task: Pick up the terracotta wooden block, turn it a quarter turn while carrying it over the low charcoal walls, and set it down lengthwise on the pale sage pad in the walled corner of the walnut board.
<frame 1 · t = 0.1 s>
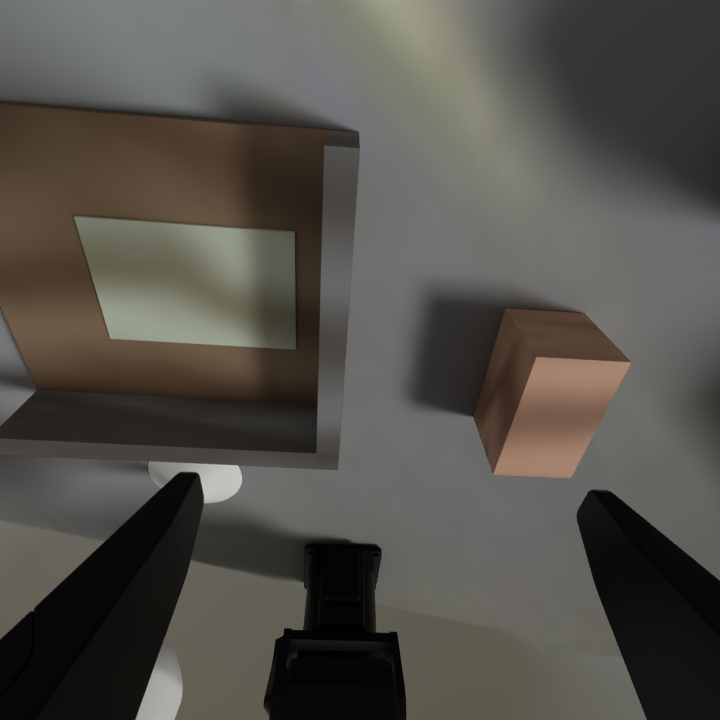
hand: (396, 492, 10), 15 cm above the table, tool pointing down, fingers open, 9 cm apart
champagne flute: (196, 472, 31), on the table
arena: (179, 287, 22), on the table
block: (523, 368, 26), on the table
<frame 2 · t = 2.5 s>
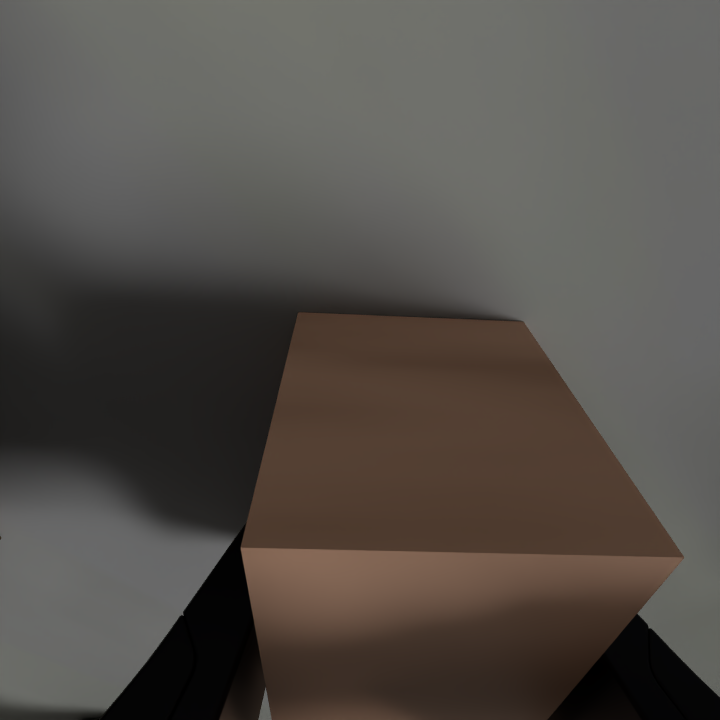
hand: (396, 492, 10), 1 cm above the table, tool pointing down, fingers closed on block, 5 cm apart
block: (392, 457, 11), on the table, touching gripper
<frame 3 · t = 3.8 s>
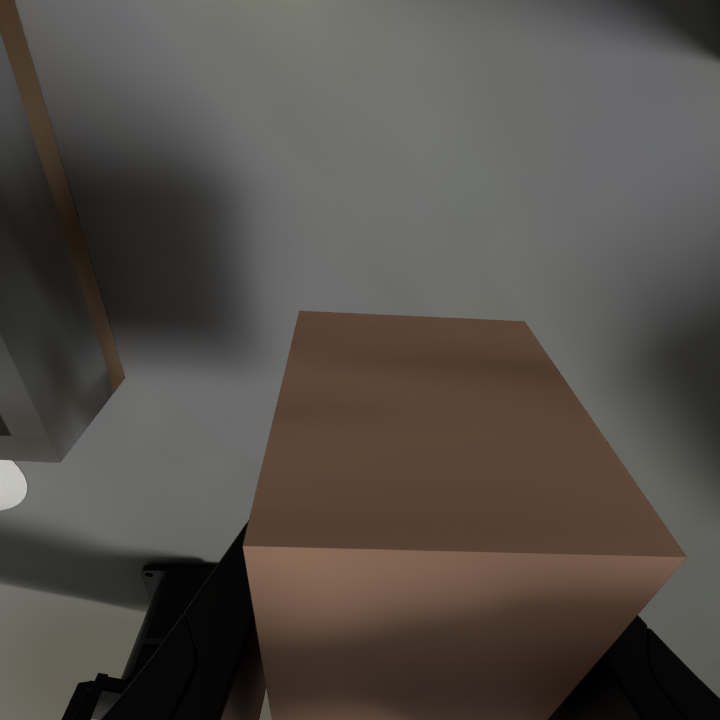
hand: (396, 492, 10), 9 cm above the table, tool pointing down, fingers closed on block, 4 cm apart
block: (392, 457, 11), point 8 cm above the table, touching gripper
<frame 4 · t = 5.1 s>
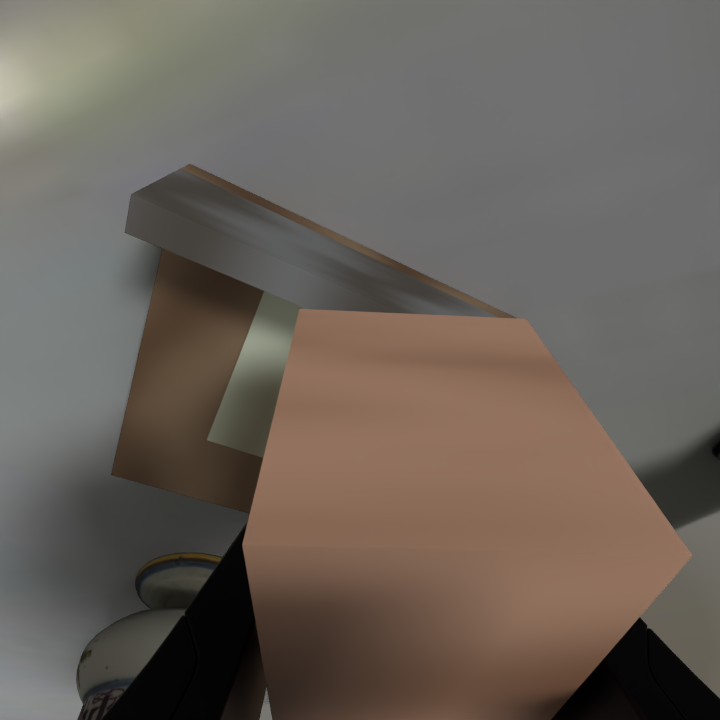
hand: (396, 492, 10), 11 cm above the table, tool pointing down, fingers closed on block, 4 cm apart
apothecary jar: (203, 585, 33), on the table
arena: (300, 400, 22), on the table
block: (393, 456, 11), point 10 cm above the table, touching gripper
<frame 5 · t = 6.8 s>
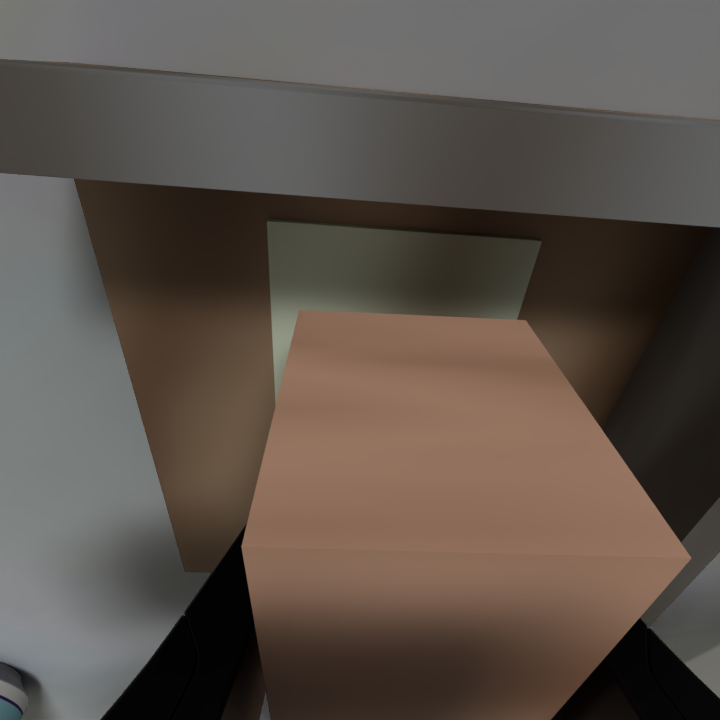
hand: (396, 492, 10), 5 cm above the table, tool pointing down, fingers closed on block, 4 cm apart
arena: (392, 405, 14), on the table
block: (393, 457, 11), point 4 cm above the table, touching gripper
when the fingers open (3 cm above the table, at t = 7.8 s): block drops 1 cm, resting on arena.
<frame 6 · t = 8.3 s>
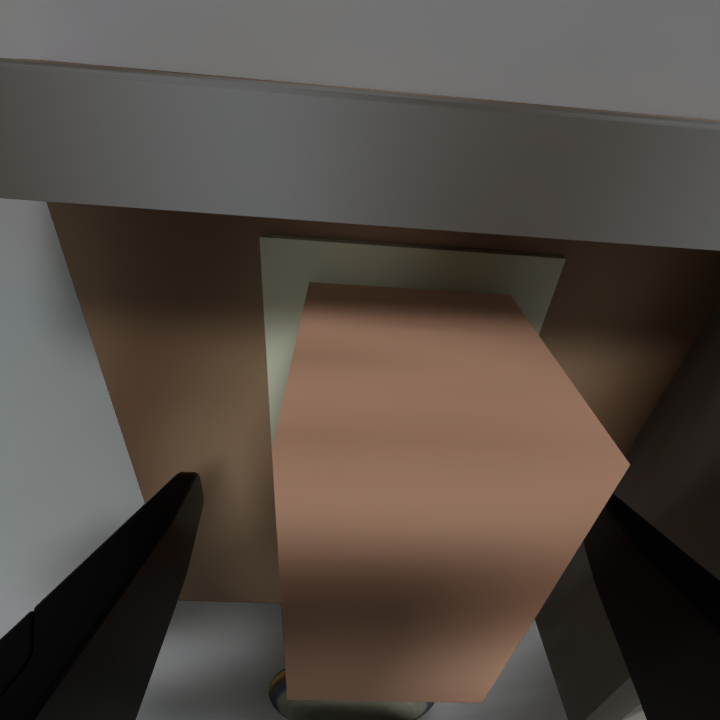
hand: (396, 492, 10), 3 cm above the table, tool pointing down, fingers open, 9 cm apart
apothecary jar: (353, 685, 25), on the table
arena: (397, 430, 13), on the table
block: (390, 422, 12), point 1 cm above the table, touching arena
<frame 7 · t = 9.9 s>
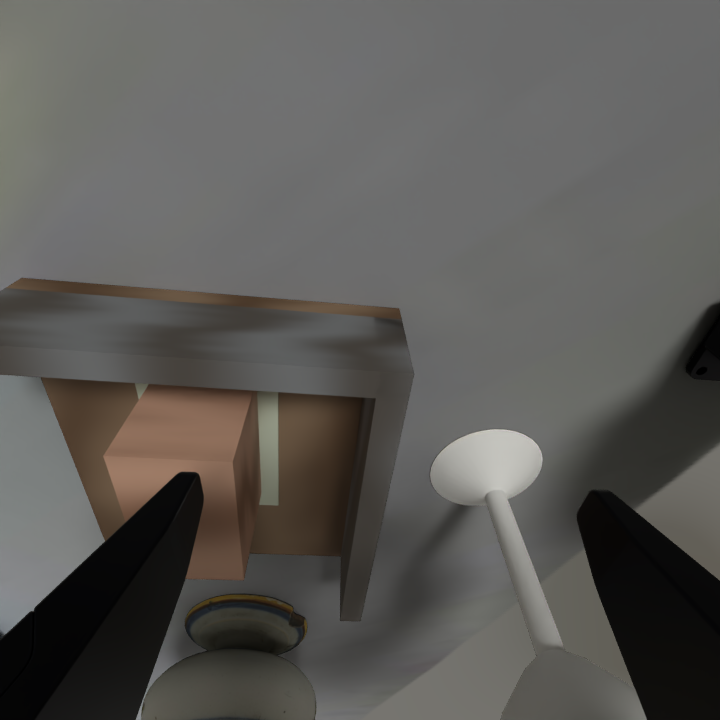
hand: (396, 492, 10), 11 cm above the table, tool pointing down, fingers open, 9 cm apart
apothecary jar: (248, 621, 35), on the table
champagne flute: (484, 467, 25), on the table
arena: (230, 442, 23), on the table
block: (214, 439, 21), point 1 cm above the table, touching arena
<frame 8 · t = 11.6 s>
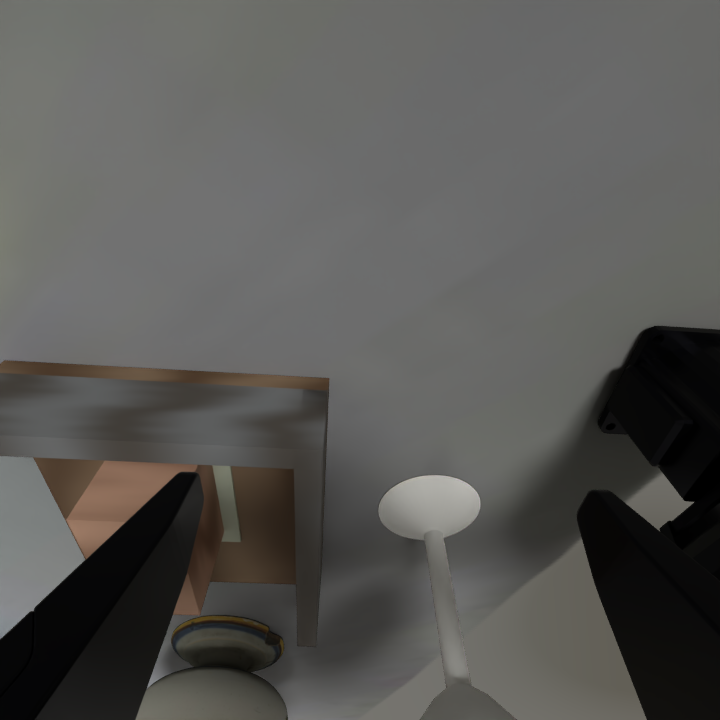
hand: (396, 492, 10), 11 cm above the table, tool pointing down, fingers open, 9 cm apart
apothecary jar: (229, 639, 38), on the table
champagne flute: (428, 507, 28), on the table
arena: (195, 487, 26), on the table
block: (177, 488, 24), point 1 cm above the table, touching arena
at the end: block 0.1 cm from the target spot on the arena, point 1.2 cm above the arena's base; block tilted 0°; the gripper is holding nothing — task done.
